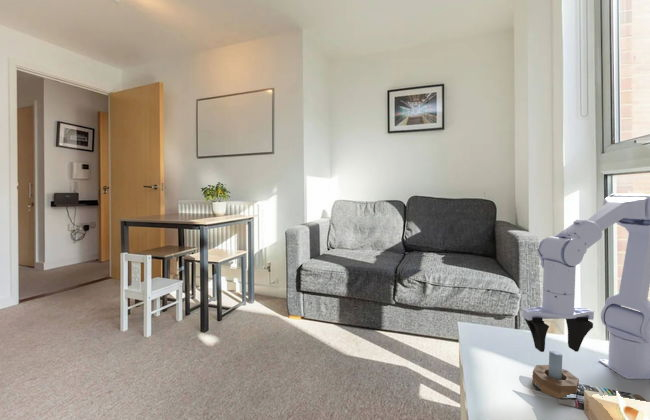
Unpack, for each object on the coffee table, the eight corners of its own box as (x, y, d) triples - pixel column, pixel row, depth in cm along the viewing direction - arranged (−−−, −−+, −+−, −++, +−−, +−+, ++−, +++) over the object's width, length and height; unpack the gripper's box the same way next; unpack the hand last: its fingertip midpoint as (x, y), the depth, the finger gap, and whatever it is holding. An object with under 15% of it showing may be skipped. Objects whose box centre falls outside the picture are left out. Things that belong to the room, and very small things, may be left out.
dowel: (556, 384, 73) (557, 350, 72) (563, 390, 70) (565, 356, 70) (545, 384, 73) (546, 350, 72) (553, 390, 70) (554, 356, 70)
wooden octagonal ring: (559, 376, 76) (560, 364, 75) (586, 399, 68) (587, 385, 67) (526, 377, 76) (526, 365, 76) (549, 399, 68) (549, 385, 68)
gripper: (577, 284, 74) (574, 340, 75) (515, 285, 74) (513, 341, 75) (603, 295, 67) (600, 356, 68) (534, 295, 67) (532, 356, 68)
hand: (556, 349), depth 71 cm, fingers open, 7 cm apart
